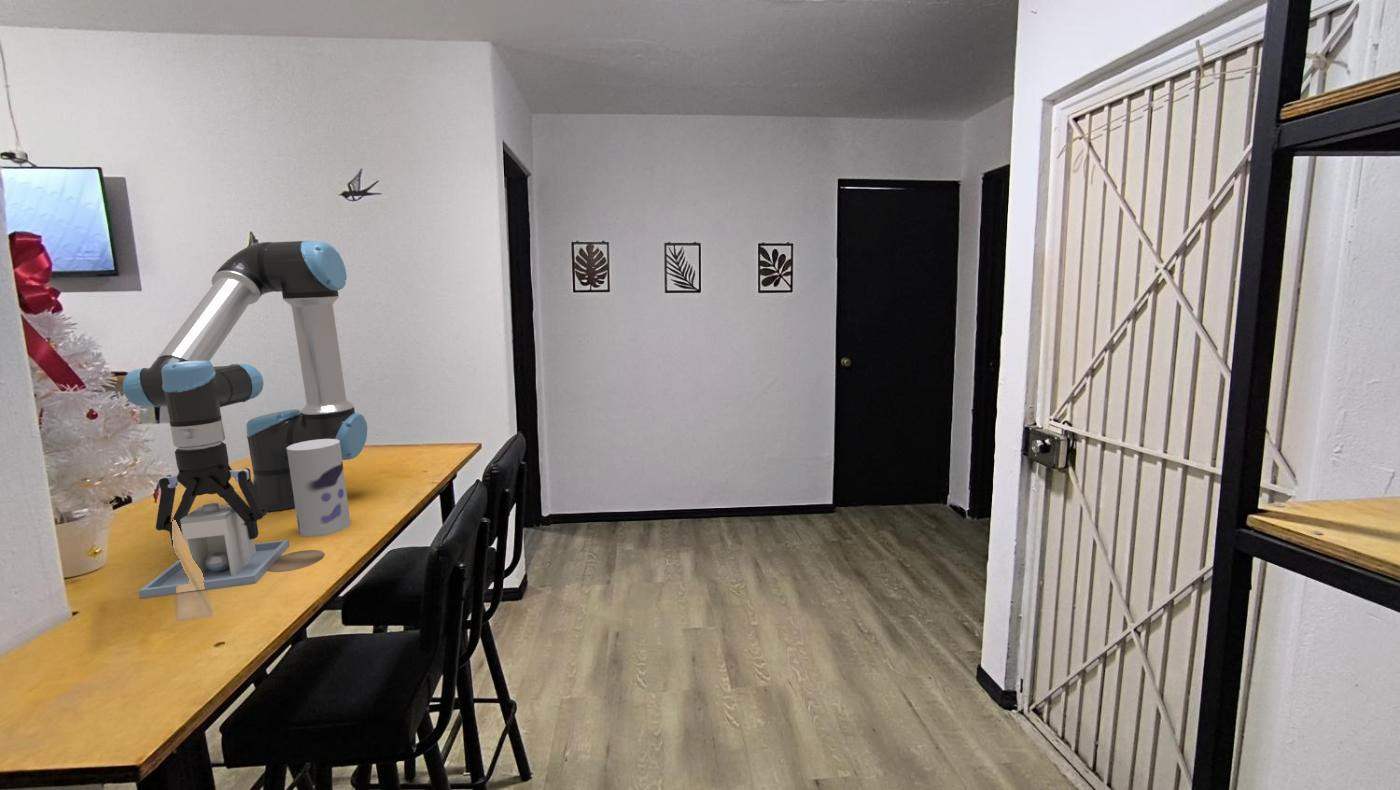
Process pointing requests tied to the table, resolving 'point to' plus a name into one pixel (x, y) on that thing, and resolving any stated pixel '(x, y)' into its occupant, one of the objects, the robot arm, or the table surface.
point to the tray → (213, 580)
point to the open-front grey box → (214, 535)
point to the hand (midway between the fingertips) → (219, 558)
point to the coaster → (296, 560)
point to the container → (318, 487)
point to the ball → (217, 561)
